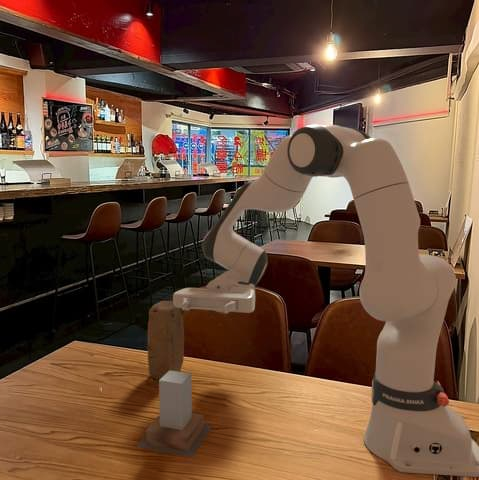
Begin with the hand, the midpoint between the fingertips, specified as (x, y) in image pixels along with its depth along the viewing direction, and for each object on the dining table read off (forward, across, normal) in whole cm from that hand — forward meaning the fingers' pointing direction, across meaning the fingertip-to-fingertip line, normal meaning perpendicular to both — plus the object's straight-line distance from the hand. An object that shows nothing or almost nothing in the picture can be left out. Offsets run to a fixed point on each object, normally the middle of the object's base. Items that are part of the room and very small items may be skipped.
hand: (203, 308), depth 108 cm
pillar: (+14, -2, +21) cm, 25 cm away
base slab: (+14, -2, +24) cm, 27 cm away
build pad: (+14, -2, +24) cm, 28 cm away
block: (-14, -17, +24) cm, 32 cm away
